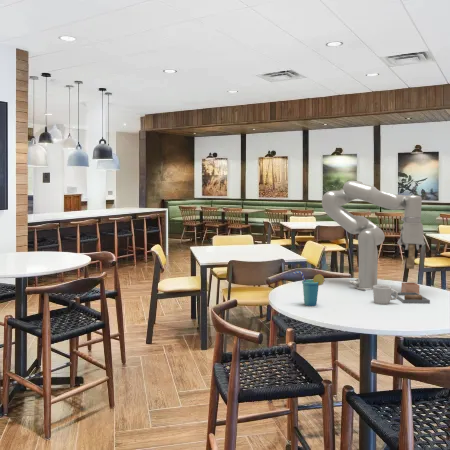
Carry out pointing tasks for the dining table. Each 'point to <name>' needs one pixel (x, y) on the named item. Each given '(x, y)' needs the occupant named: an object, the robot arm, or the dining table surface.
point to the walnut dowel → (413, 297)
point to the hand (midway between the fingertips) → (410, 257)
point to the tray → (423, 301)
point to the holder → (410, 287)
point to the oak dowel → (411, 256)
